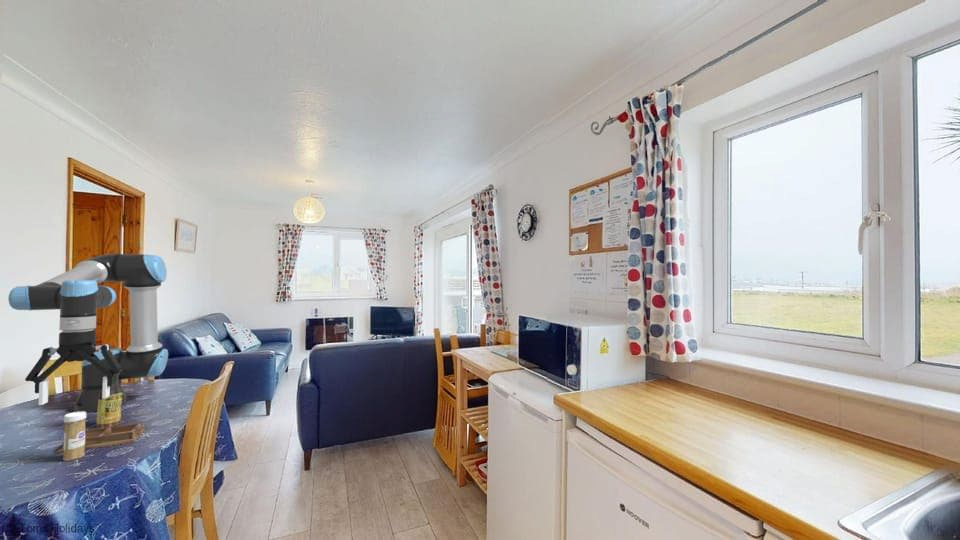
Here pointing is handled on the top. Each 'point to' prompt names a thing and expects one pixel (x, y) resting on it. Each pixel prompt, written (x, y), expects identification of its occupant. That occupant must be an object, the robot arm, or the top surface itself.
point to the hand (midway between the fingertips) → (75, 400)
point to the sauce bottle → (110, 406)
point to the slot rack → (111, 436)
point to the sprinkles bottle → (74, 435)
